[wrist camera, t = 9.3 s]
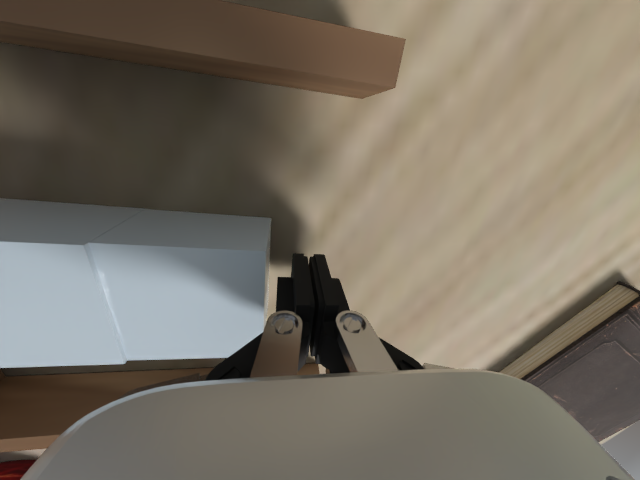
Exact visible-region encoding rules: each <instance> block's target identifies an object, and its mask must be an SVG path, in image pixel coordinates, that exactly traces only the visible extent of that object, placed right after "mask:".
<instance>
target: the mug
mask: <svg viewBox="0 0 640 480" xmlns="http://www.w3.org/2000/svg"><path fill="white" fill-rule="evenodd" d="M35 461H36V460H14V461H7V462H1V463H0V480H20V479H21V478H22V477H23V476H24V474H25V473H26V472H27V471H28V470H29V468H30V467H31V466H32V465H33V464H34V463H35Z"/></svg>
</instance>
